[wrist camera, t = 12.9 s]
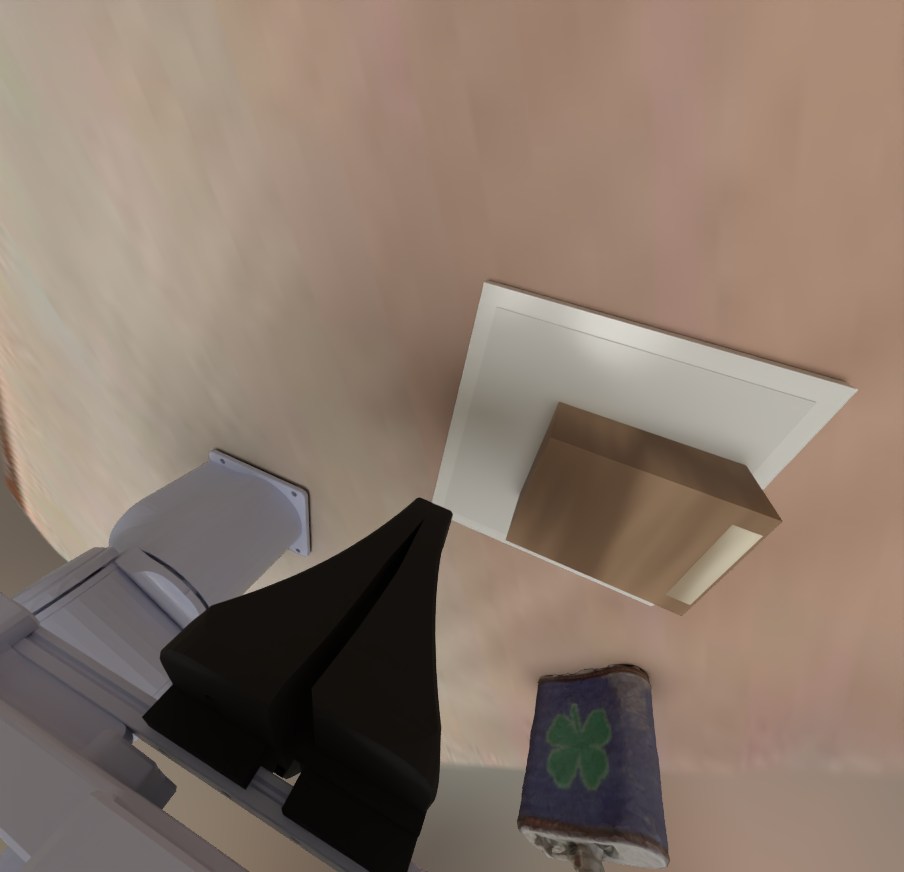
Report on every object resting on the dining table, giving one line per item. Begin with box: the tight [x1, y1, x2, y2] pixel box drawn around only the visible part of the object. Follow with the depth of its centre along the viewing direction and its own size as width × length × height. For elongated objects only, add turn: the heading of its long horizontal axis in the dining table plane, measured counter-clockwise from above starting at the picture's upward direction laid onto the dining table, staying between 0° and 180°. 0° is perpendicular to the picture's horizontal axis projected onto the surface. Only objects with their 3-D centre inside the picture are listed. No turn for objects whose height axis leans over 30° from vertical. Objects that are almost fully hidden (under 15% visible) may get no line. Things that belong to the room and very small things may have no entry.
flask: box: [517, 665, 670, 872], centre depth 22 cm, size 9×3×11 cm, turn 136°
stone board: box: [432, 280, 858, 606], centre depth 18 cm, size 14×14×1 cm
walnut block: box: [506, 402, 783, 616], centre depth 15 cm, size 4×6×8 cm
